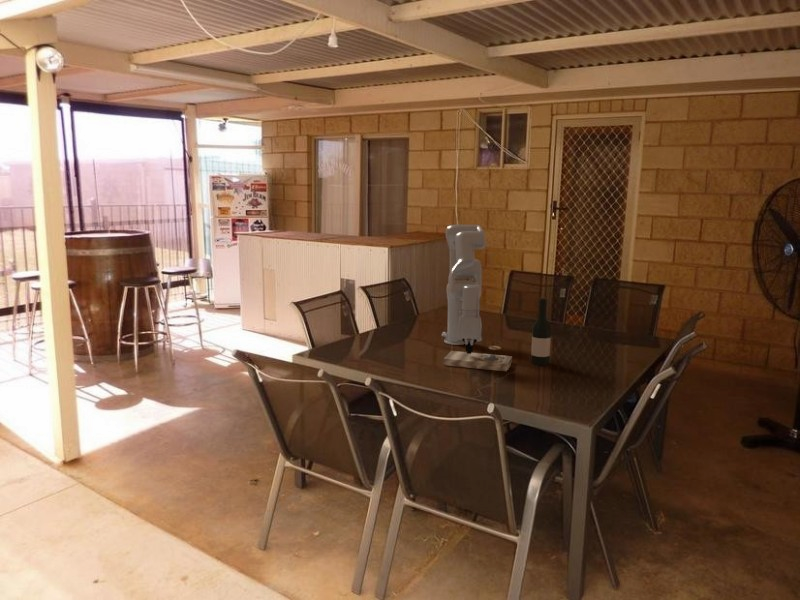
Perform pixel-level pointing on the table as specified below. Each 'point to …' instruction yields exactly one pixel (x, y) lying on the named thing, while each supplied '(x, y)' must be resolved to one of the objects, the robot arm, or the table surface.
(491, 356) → the ball
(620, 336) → the table surface
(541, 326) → the wine bottle
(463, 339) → the robot arm
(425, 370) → the table surface
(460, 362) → the beige flat board
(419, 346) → the table surface
